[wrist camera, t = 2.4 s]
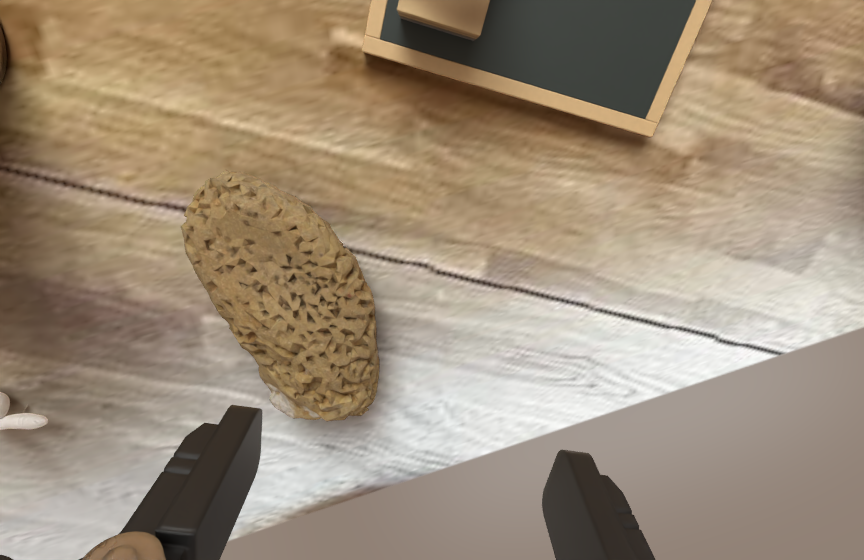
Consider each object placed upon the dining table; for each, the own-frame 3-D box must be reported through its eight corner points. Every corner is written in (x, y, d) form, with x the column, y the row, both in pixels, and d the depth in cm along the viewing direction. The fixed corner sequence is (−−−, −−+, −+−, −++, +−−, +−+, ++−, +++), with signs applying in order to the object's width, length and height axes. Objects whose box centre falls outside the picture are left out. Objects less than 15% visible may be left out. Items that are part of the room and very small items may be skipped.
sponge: (395, 367, 42) (370, 160, 31) (373, 439, 36) (330, 213, 25) (265, 355, 44) (196, 157, 33) (222, 420, 38) (118, 204, 27)
